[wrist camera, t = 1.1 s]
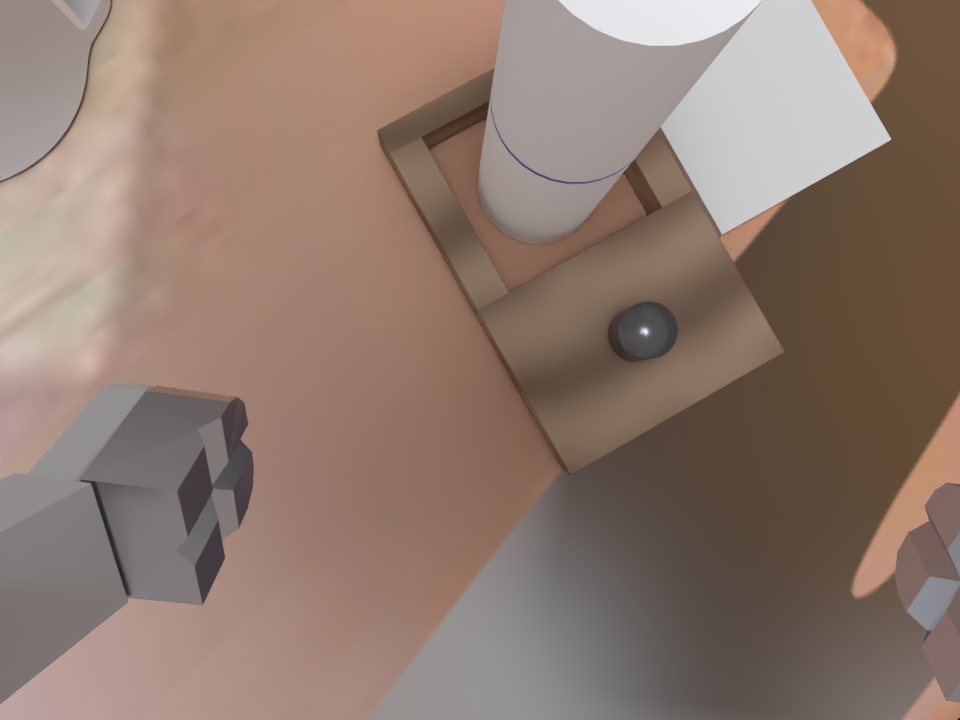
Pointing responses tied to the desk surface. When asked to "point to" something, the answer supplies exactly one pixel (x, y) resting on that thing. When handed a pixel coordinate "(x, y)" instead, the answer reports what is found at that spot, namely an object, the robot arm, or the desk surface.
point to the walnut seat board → (596, 297)
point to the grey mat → (770, 116)
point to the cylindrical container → (586, 100)
